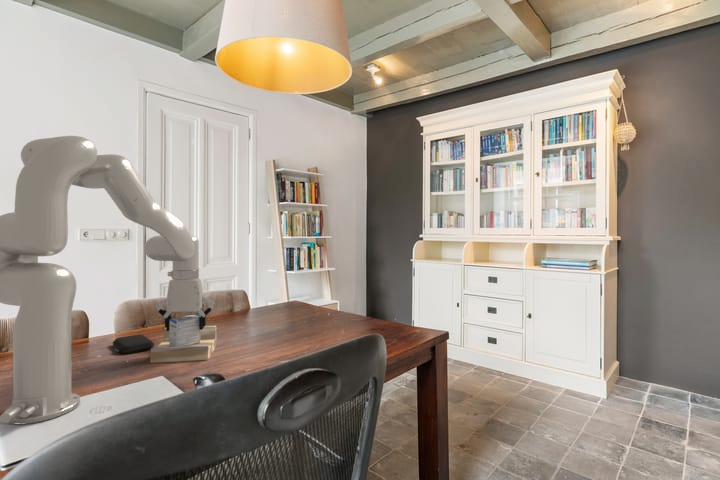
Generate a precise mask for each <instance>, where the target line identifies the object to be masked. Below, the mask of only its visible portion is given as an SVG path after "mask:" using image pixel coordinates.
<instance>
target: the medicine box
mask: <svg viewBox="0 0 720 480" xmlns="http://www.w3.org/2000/svg"><path fill="white" fill-rule="evenodd" d="M169 329H170V336H169V339H170V340H169V344H170V347H181V346H190V345H193V344H197V343H200V317H199V315H195V314H191V315H185V316H180V317H175V318H173V317H172V319H170V325H169Z"/></svg>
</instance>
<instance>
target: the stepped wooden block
mask: <svg viewBox="0 0 720 480" xmlns="http://www.w3.org/2000/svg"><path fill="white" fill-rule="evenodd" d="M169 336H170V330H169V331H167V328H165V327H164V328H163V341H162V342H160V343H159V344H158V345H157V346H156V347H153V348H151V350H150V354H149V355H150V358H149V359H150V360H149V361H150V364H154V363H156V364H157V363H174V362H175V363H176V362H190V361H191V362H192V361H209V359H210V358H211V356H212V354H213V353H214V350H215V349H216V348H217V325H206V326H204V328H203V329H202V330H200V343H197V344H193V345H190V346H181V347H170V344H169V340H170V339H169Z"/></svg>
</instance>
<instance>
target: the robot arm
mask: <svg viewBox="0 0 720 480" xmlns="http://www.w3.org/2000/svg"><path fill="white" fill-rule="evenodd" d="M20 158H21V161H22V163H23V165H24V166H23V167H22V169H21V170H20V172H19V174H18V177H17V179H16V185H15V194H14V195H15V197H14V211H13V212H6V213H5V214H1V215H0V304H4V305H8V306H17V307H19V310H18V313H17V315H16V317H15V320H14V324H13V327H12V343H13V344H12V345H13V346H12V350H13V351H12V364H13V365H12V366H13V368H12V371H13V372H12V373H13V375H12V376H13V379H12V382H13V385H12V386H13V387H12V388H13V391H12V392H13V393H12V395H13V396H12V400H11V406H9V407H8V408H6V410H4V412H3V413H2V414H0V423H2V424H10V423H28V424H31V423H30V422H35V423H39V421H40V422H44V421H47V420H51V419H52V420H53V419H54V417H55V418H56V417H57V416H58V417H60V416H62V414H63V415H65V414H67V413H70V412H71V411H73V410H74V409H75V408H77V407H78V406H79V405H80V404H81V396H80V395H79V394H78V393H73V392H72V315H73V314H72V313H73V308H74V302H75V299H76V298H75V297H76V293H77V280H76V278H75V275H74V274H73V273H72V271H70V270H69V269H68V268H66V267H65V266H62V265H61V264H60V265H59V264H56V263H52V262H51V263H50V262H39V257H50V256H55V255H57V254H60V253H61V252H62V251H64V250H65V248H66V247H67V245H68V237H69V236H68V235H69V230H68V229H69V228H68V225H69V224H68V217H69V216H68V201H69V199H68V196H69V190H70V188H71V186H75V187H81V188H85V189H98V190H99V189H104V190H105V191H106V193H107V194H108V195H109V197H110V198H111V200H112V201H113V202H114V204H115V205H116V207H117V208H118V210H119V211H120V213H121V214H122V215H123V216H124V218H125V219H127V220H129V221H131V222H134V223H136V224H137V225H141V226H143V227H144V228H148V229H151V230H152V231H154V232H155V233H157V234H159V235H156V236H152V237H150V238H148V239H147V241H145V243H144V248H143V249H144V253H145V255H146V257H148V258H149V259H151V260H153V261H158V262H172V270H171V271H167V276H168V277H171V279H169V282H168V286H167V293H166V298H164V299H163V300H161V301H158V302H157V303H155V307H156V309H157V311H158V313H159V314H160V315H161V316H162V317H163V318H164V328H167V331H169V330H170V329H169V325H170V319H173V316H171V315H172V314H173V313H179V314H181V313H182V314H183V313H196V312H197V313H198V315H199V314H200V315H201V317H200V330H202V329H203V328H204V326H207V322H206V321H207V315H208V314H209V313H210V312H211V311H212V310H213V308H214V307H215V303H216V302H215V301H213V300H211V299H209V298H207V297H204V290H203V285H202V284H203V283H202V279H201V278H199V277H200V273H199V270H200V263H199V262H200V260H199V259H200V252H199V251H200V249H199V248H200V241H199V238H198V237H196V236H192V235H191V233H190V232H189V230H188V229H187V228H186V226H185V224H184V223H183V222H182V221H181V220H180V219H179V218H178V217H177V216H175V215H174V214H173V213H171V212H170V211H169V210H168V209H166V208H165V207H163V206H162V205H160V204H159V203H158V202H157V201H156V200H155V199H154V198H153V195H152V194H151V192H150V191H149V190H148V188H147V186H146V185H145V183H144V182H143V180H142V179H141V177H140V175H139V174H138V172H137V170H136V169H135V168H134V165H132V162H130V161H129V159H128V158H126V157H125V156H123V155H121V154H99V155H98V151H97V148H96V145H95V144H94V143H93V142H92V141H91V140H89V139H88V138H86V137H83V136H78V135H64V136H63V135H62V136H55V137H54V136H53V137H48V138H47V137H46V138H38V139H34V140H31V141H29V142H27V143H26V144H25V145H23V147H22V149H21V151H20ZM204 304H206V305H208V307H207V309H205V308H204ZM163 305H166V309H165V308H163ZM64 413H65V414H64ZM8 422H10V423H8Z"/></svg>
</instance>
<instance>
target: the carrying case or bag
mask: <svg viewBox="0 0 720 480" xmlns="http://www.w3.org/2000/svg"><path fill="white" fill-rule="evenodd" d="M112 346H114V352H118V353H122V354H123V355H129V354H130V355H131V354H136V353H141V352H147V351H151V348H155V343H154V342H153V341H152V340H150V338H148V337H147V336H145V335H143V334H141V333H139V334H134V335H128V336H121V337H117V338H115V339H114V341H112Z"/></svg>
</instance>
